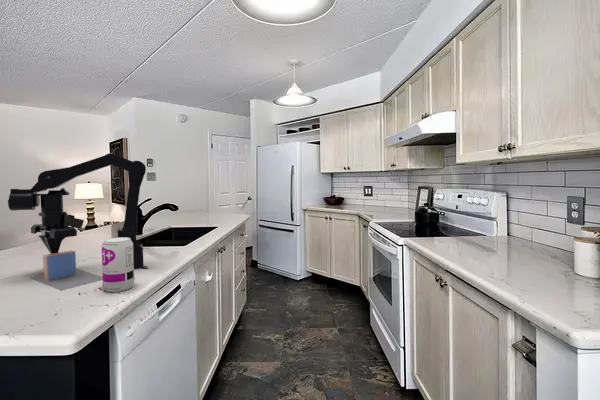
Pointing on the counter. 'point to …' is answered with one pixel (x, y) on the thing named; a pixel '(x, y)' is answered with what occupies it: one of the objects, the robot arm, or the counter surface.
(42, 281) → the mat
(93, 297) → the counter surface
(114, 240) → the supplement can
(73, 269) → the tile
